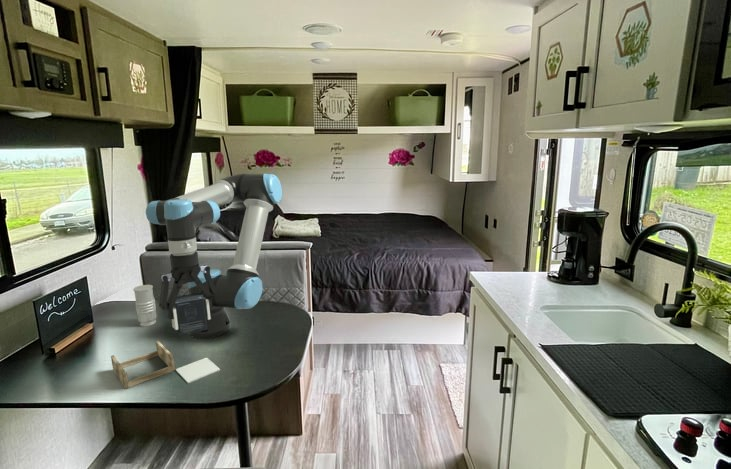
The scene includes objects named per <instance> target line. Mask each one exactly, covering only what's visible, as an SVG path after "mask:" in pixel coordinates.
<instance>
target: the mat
mask: <svg viewBox="0 0 731 469" xmlns="http://www.w3.org/2000/svg"><path fill="white" fill-rule="evenodd" d="M175 371H176V372H177V374H178V375H179V376H180V377H181V379H183V380H184V381H185V382H186V383H187V384H190V383H192V382H195V381H198V380H200V379H202V378H205V377H207V376H209V375H212V374H215V373H217V372H219V371H221V369H220V368H219V367H218V366H217V365H216V364H215V363H214V362H213V361H212V360H210V359H209V358H208V357H204V358H202V359H198V360H196V361H193V362H192V363H189V364H185V365H183V366H180V367H177V368H175Z"/></svg>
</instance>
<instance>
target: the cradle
mask: <svg viewBox="0 0 731 469" xmlns="http://www.w3.org/2000/svg"><path fill="white" fill-rule="evenodd" d="M155 346H156V350H155V351H153V352H150V353H146V354H144V355H140V356H137V357H134V358H132V359H128V360H126V361H122V362H119V360H118V359H117V357H116V356H115V355H114V354H113V355H110V358H111V365H112V370H114V371H113V373H114V374H115V373H116V374H115V375H116V377H117V378H118V380H119V381H120V383H121V384H122V386H123V387H124V389H126V390H127V389H129V388H132V387H135V386H136V385H139V384H142V383H144V382H147V381H149V380H151V379H155V378H158V377H160V376H162V375H166V374H168V373H171V372H173V371H176V367H175V365H176V364H175V359H174V355H173V353H172V352H170V351H169V350H168V349H167V348H166V347H165V346H164V345H163V344H162V343H161V342H160V340H156V341H155ZM155 357H159V358H160V359H161V360H162V361H163V362H164V363H165V365H166V367H164V368H161V369H159V370H155V371H153V372H150V373H148V374H144V375H142V376H138V377H136V378H134V379H130V380H129V381H128V375H127V371H126V370H125V369H124V368H127V367H130V366H133V365H135V364H138V363H141V362H144V361H147V360H150V359H153V358H155Z"/></svg>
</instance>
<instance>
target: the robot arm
mask: <svg viewBox="0 0 731 469" xmlns="http://www.w3.org/2000/svg"><path fill="white" fill-rule="evenodd" d="M281 184H282V183H281V181H280V179H279V178H278V176H276V175H275V174H271V173H237V174H233V175H230V176H227V177H224V178H221V179H218V180H216V181H214V183H212V184H210V185H208V186H206V187H205V186H204V187H203V188H200V189H197V190H193V191H191V192H188V193H185V194H182V195H179V196H177V197H174V198H173V197H172V198H170V199H167V200H153V201H150V202H149V203H148V204H147V205H146V208H145V215H146V219H147V221H149V223H152V224H154V225H159V226H166V227H165V228H166V234H167V245H168V251H169V253H170V254H169V259H170V260H169V261H170V268H171V270H170V273H167V274H160V277H159V278H160V280H161V287H160V293H159V294H160V295H159V303H158V307H159V308H160V309H162V310H163V311H164V310H166V314H167V318H168V320H171V326H172V328H173V329H174V330H175V331H179V330H178V321H177V313H176V308H175V301H176V299H177V296H179V293H180V291H181V288H182V287H183V285H186V284H188V295H189V294H195V293H201V292H202V295H203V301H204V309H205V317H206V326H207V330H202V331H197V332H192V333H188V334H189V336H190V337H191V338H194V339H202V340H203V339H212V338H215V337H219V336H222V335H224V334H225V333H228V332H229V330H231V327H232V324H231V322H232V321H231V319H230V317H229V314H228V312H227V310H226V309H225V308H229V309H230V308H231V309H237V310H243V309H244V310H246V309H247V310H250V309H252V308H254V307H255V306H256V305H257V304H258V302H259V300H260V299H261V296H262V294H263V282H262V280H261V278H259V277H260V274H259V273H258V271H257V267H258V266H257V265H258V262H259V259H260V252H261V248H262V244H263V240H264V233H265V231H266V225H267V222H268V217H269V213H271V212H272V211H273V210H274V206H275V205H277V204H279V203H280V202H281V201H282V198H283V190H282V188H283V187H282V185H281ZM230 203H243V205H244V206H245V208H246V209H245V211H244V216H243V220H242V225H241V229H240V232H239V238H238V242H237V245H236V246H237V247H236V249H235V254H234V259H233V263H232V265H231V266H230V267H229V268H227V270H226V274H225V275H224V274H223V275H222V271H221V270H220V269H218V268H211V267H210V266H209V265H207V264H204V265H201V266H200V265H199V254H198V252H197V250H198V246H197V245H198V244H197V237H196V229H198V228H201V227H202V228H203V227H206V226H210V225H212V224H213V223H214V224H215V223H217V222H218V220H219V219H220V217H221V209H220V206H219V205H220V204H222V205H226V204H230ZM172 278H173V279H174V281H173V284H172V287H171V290H170V294H169V288H170V281H171V279H172Z"/></svg>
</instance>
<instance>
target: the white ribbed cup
mask: <svg viewBox="0 0 731 469" xmlns="http://www.w3.org/2000/svg"><path fill="white" fill-rule="evenodd" d="M153 287H154V286H153V285H152V284H142V285H138V286H135V287H134V288H133V289H132V290H133V291H134V298H135V302H134V303H135V310H136V312H135V313H137V321H138V322H140V323H139V326H141V327H149V326H150V327H151V326H152V325H154V324H156V323H157V320H156V318H158V314H157V306H156V300H155V297H154V291H153Z"/></svg>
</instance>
